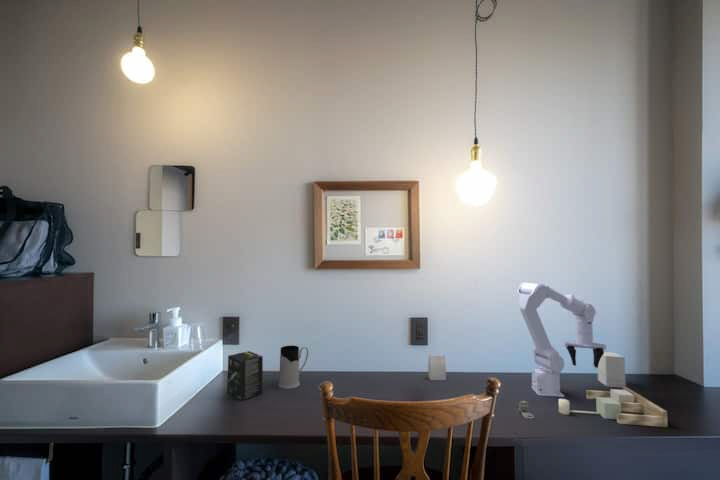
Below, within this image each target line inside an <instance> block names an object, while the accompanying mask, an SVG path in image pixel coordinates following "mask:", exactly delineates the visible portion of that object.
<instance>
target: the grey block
mask: <svg viewBox="0 0 720 480" xmlns="http://www.w3.org/2000/svg"><path fill="white" fill-rule="evenodd" d="M609 390H610V391H611V398H613V399H614V400H616V401H617V402H629V403H635V402H634V395H633V394H631V393H629V392H628V391H626V390H623V389H613V388H610V389H609Z"/></svg>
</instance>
